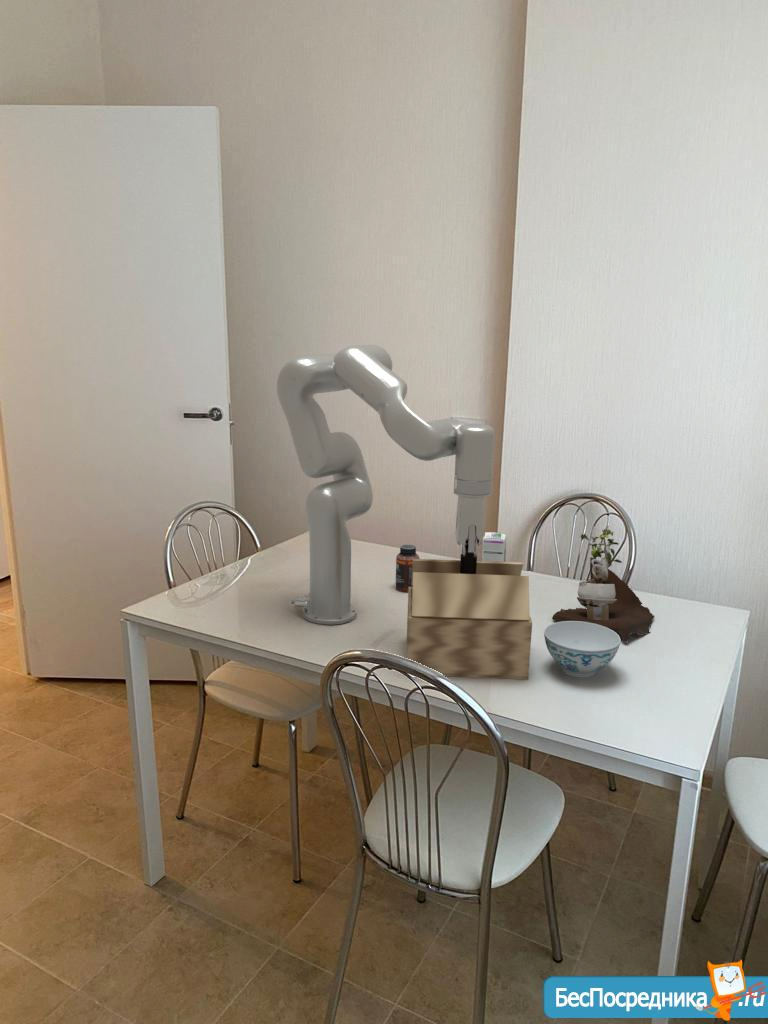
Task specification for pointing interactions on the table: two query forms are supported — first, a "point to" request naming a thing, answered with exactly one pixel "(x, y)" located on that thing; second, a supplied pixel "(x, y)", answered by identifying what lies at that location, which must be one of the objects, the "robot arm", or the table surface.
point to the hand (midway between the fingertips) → (467, 573)
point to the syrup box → (494, 547)
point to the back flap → (454, 567)
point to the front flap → (470, 596)
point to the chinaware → (581, 646)
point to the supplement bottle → (405, 567)
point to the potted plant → (608, 597)
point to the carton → (470, 645)
